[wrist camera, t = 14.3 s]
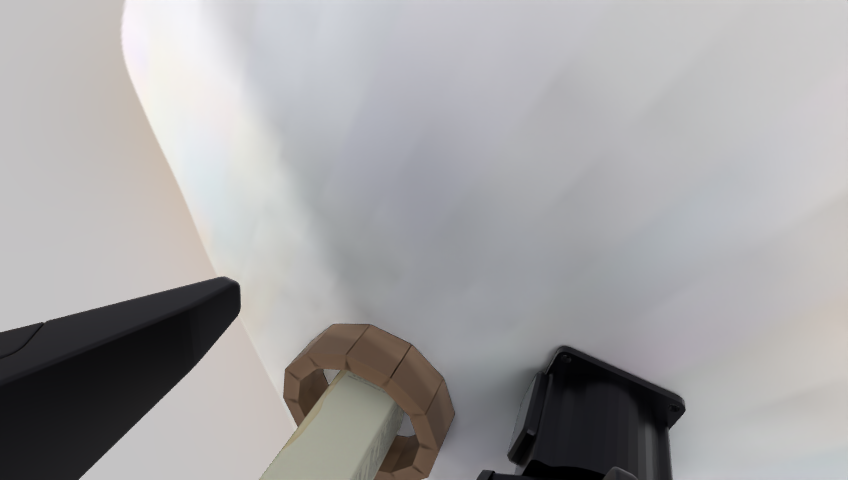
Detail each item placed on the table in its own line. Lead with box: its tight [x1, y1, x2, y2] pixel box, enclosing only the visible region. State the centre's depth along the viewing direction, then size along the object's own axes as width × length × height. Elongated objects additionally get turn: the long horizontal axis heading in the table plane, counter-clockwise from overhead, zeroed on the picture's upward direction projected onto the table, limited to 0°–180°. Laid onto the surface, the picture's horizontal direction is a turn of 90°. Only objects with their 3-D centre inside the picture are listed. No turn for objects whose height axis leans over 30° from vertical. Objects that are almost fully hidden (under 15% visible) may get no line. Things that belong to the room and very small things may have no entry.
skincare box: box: [259, 370, 404, 480], centre depth 26 cm, size 6×4×12 cm
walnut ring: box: [283, 324, 455, 480], centre depth 30 cm, size 11×11×3 cm
